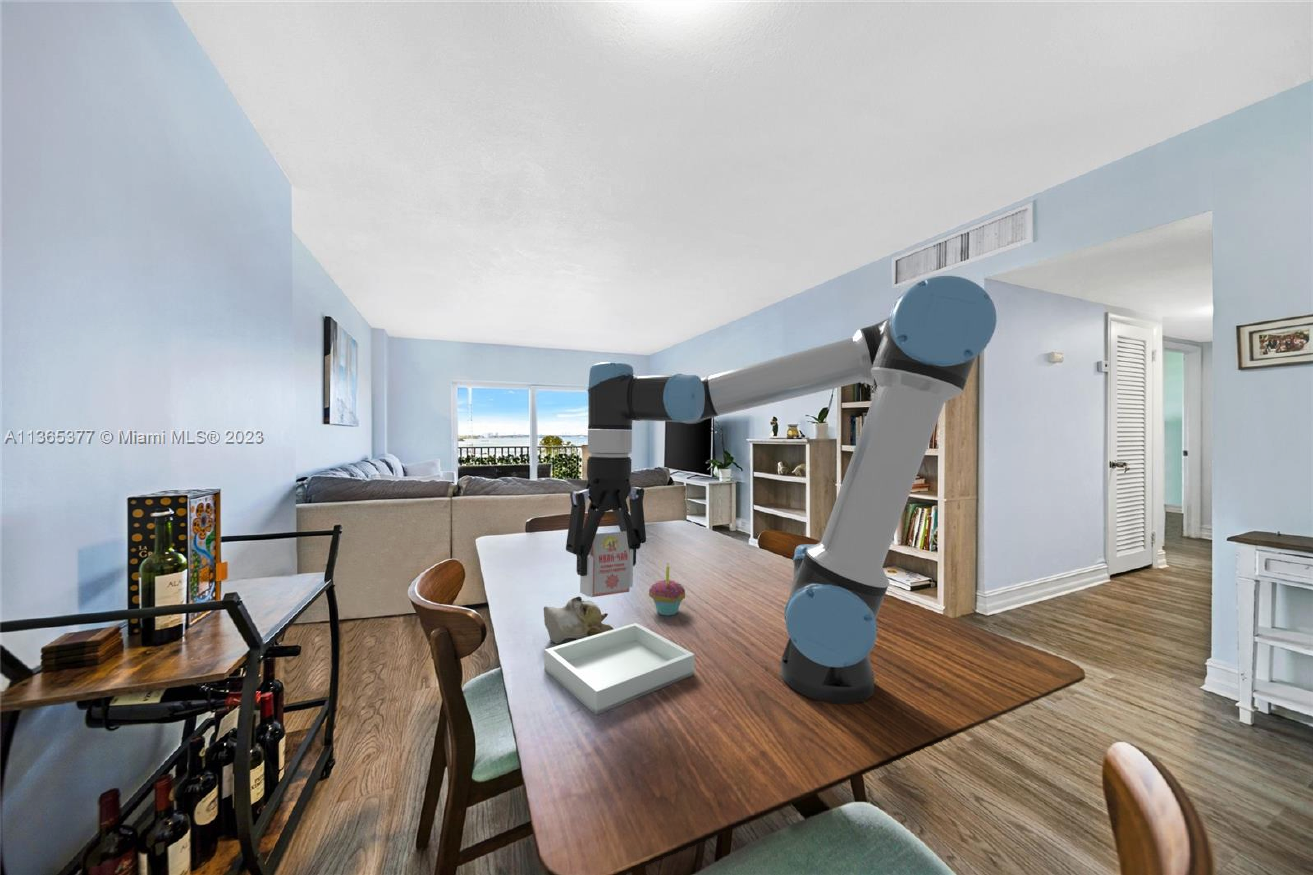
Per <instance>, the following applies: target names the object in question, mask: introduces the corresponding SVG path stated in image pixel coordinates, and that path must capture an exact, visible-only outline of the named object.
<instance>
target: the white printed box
mask: <svg viewBox="0 0 1313 875" xmlns="http://www.w3.org/2000/svg"><path fill="white" fill-rule="evenodd" d="M589 555H591V556H593V596H591V597H590V598H595V597H602V596H609V595H617V594H624V593H629V592H630V587H629V586H630V554H629V547H628V540H627V531H610V532H607V531H606V532H598V533H597V532H596V535H595V538H594V541H593V544H592V547H591V550H590V553H589Z"/></svg>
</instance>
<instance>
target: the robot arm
mask: <svg viewBox="0 0 1313 875" xmlns="http://www.w3.org/2000/svg"><path fill="white" fill-rule="evenodd" d="M996 326H997V310H996V307H995V304H994V302H993V300H992V299H991V297H990V295H989V294H988V292H987V291H986V290H985V289H984V288H983V287H981V285H979V284H977V283H976V282H974V281H972V280H970V279H968V278H964V277H960V276H958V275H957V276H955V275H937V276H933V277H928V278H926V279H924V280H921V281H919V282H917V283H916V284H914V285H912V286H911V287H910V288H908V289H907V290H905V291H904V292H903V293H902V294H901V296H899V297H898V298H897V300H896V301H895V303H893V306H892V309H891V312H890V314H889V316H888V318H886V319H883V320H882V321H880V322H878V323H876V324H872V325H870V326H867V327H866V326H865V327H863V328H860V329H858V330H856V332H855V333H854V335H853V336H852V337H850V338H849V337H848V338H845V339H842V340H839V341H838V340H837V341H835V342H832V343H827V344H824V345H820V346H816V347H814V348H807V349H806V350H805V349H804V350H802V351H797V352H794V353H791V354H790V353H789V354H787V355H783V356H780V357H776V358H772V359H768V360H765V361H760V362H758V363H754V364H749V365H745V366H743V367H738V368H735V369H732V370H727V371H723V372H720V373H716V374H713V375H709V376H706V377H700V376H698V375H696V374H684V373H683V374H682V373H676V374H658V375H655V374H654V375H652V374H651V375H636V374H635V372H634V368H633V366H632V364H631V365H630V364H629V363H625V362H624V363H623V362H608V361H607V362H598V363H594V364H593V365H592V366H591V367H590V369H589V378H588V387H587V394H588V395H587V396H588V399H587V400H588V405H587V406H588V414H587V415H588V417H587V418H588V420H587V421H588V426H587V452H588V454H590V456H589V455H588V457H587V459H586V477H587V478H586V479H587V484H586V486H585V489H583V490H579V491H575V490H573V491H571V492H570V494H569V497H570V503H571V508H570V515H569V516H570V517H569V522H568V523H569V524H568V529H567V530H568V531H567V536H566V545H565V551H567V552H569V553H571V554H572V555H575V556H576V574H577V575H578V576H579V578H580V579H579V581H580V582H579V593H580V594H582V595H584V596H586V597H588V598H592V597H591V596H593V556H591V555H589V553H590V550H591V547H592V544H593V541H594V538H595V535H596V533H597V532H598V529H599V526H600V523H601V521H602V518H603V517H605V514H606V512H610V511H612V512H613V513H614V515H615V518H616V521H617V524H618V527H619V530H620V531H627V540H628V547H629V554H630V586H629V588H633V587H634V586H633V585H634V583H633V582H634V573H633V572H634V567H635V566H636V565H637V550H640V549H641V546H642V545H641V544H645V543H646V541H647V535H646V525H645V524H646V523H645V522H646V521H645V512H644V503H643V502H644V495H645V489H644V488H643V487H639V486H638V487H637V486H632V485H631V483H630V478H632V463H633V462H632V458H631V457H630V456H629V455H630V454H631V453H632V452H633V421H638V422H640V421H647V422H650V421H651V422H670V423H671V422H673V423H683V424H687V425H694V424H698V423H701V422H704V421H705V420H708V419H711V418H716V417H718V416H719V417H720V416H723V415H726V414H731V413H736V412H740V411H746V410H749V409H752V408H757V407H760V406H761V407H762V406H765V405H770V404H774V403H778V402H782V401H785V400H790V399H795V398H800V397H804V396H808V395H812V394H817V393H821V392H824V391H829V390H834V389H838V388H842V387H845V386H850V385H855V384H858V383H864V384H867V385H869V386H871V387H873V386H876V387H875V391H874V395H873V397H872V400H871V402H870V405H869V408H868V410H867V414H866V416H865V419H864V423H863V425H862V428H861V429H860V433H859V435H858V439H857V441H856V444H855V447H854V449H853V452H852V455H851V458H850V460H849V464H848V466H847V468H846V472H845V474H844V477H843V479H842V482H841V486H840V488H839V490H838V493H837V495H836V496H837V497H836V499H835V502H834V505H833V507H832V511H831V513H830V515H829V519H828V521H827V524H826V528H825V530H824V532H823V535H822V539H821V541H820V542H818V543H816V544H811V543H810V544H809V543H808V544H800V545H797V546H796V547H795V550H794V556H793V558H792V562H793V580H792V584H791V588H790V593H789V597H788V600H787V602H786V604H785V607H784V608H785V609H784V621H785V627H786V628H785V629H786V632H787V633H788V634H787V635H788V637H789V638H788V640H787V643H786V646H785V648H784V651H783V654H782V657H781V660H780V675H781V678H782V680H783V681H784V682H785V684H787V685H788V686H789V687H790V688H791V689H792V690H794V691H795V692H797V693H799V694H801V695H803V696H806V697H808V698H811V699H813V700H817V701H822V702H826V703H832V704H845V705H846V704H847V705H849V704H856V703H861V702H864V701H866V700H868V699H870V698H871V697H872V696H873V694H874V692H875V674H874V671H873V668H872V667H873V666H872V664H871V661H870V657H869V654H871V652H872V650H873V648H874V646H875V643H876V640H877V633H878V631H879V630H878V622H877V617H878V614H879V612H880V609H881V606H882V604H883V601H884V599H885V596H886V593H887V591H888V587H889V586H890V581H889V578H888V577H887V575H886V573H885V571H884V563H885V560H886V557H887V555H888V552H889V550H890V548H891V545H892V542H893V540H894V537H895V534H896V531H897V529H898V526H899V523H900V521H901V518H902V515H903V514H904V510H905V508H906V505H907V502H908V499H909V497H910V494H911V492H912V489H913V487H914V484H915V481H916V478H917V476H918V473H919V471H920V468H921V465H922V463H923V460H924V458H925V455H926V453H927V450H928V447H929V444H930V442H931V439H932V436H933V434H934V431H935V428H936V426H937V423H938V420H939V418H940V414H941V413H942V410H943V407H944V405H945V403H947V401H949V400H952V399H954V398H956V397H958V396H960V395H962V393H963V391H964V389H965V386H966V384H967V381H968V378H969V375H970V374H971V370H972V367H973V365H974V363H975V360H976V357H978V356H979V355H980V354H981V353H982V352H983V351H984V350H985V349H986V348H987V346H988V345H989V343H990V342H991V339H992V338H993V336H994V333H995V330H996ZM628 498H629V502H628V503H629V504H628V503H627V499H628ZM588 499H589V502H590V503H589V505H588V508H586V505H587V503H588ZM586 509H587V516H586ZM585 517H586V519H585Z"/></svg>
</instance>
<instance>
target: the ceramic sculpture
mask: <svg viewBox="0 0 1313 875" xmlns="http://www.w3.org/2000/svg"><path fill="white" fill-rule="evenodd" d="M608 615H609V613H602V611H601V609H600V607H599V606H598V604H596V602H595V603H594V602H593V601H591V600H583V599H582V597H581V596H575V597H573V598H571V600H568V601H567V604H565V606H563V607H554V606H543V617H544V620H543V621H544V626H545V629H546V630H547V633H548V636H549V638H550V640H551V641H552V642H553V643H555V644H559V645H560V644H561V643H562V642H563V641H564V640H565V639H576V640H579V639H583V638H586V637H589V636H593V635H596V634H600V633H603V632H606V631H610V630H613V629H615V628H614V627H612V626H611V625H609V624H605V623H602V622H603V621H604V620H605V619H606V618H607V617H608Z"/></svg>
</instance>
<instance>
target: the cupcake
mask: <svg viewBox="0 0 1313 875" xmlns="http://www.w3.org/2000/svg"><path fill="white" fill-rule="evenodd" d="M665 571H666V572H665V579H663V580H659V581H657V582H655V583H654V584H652V585H651V586H650V588H649V589H648V590H649V593H648V596H649V597H650V598H651V599H653V602H654V605H655V607H656V612H657V613H658V614H659V615H662V616H674V615H676V614H677V613H678V611H679V610H680V605H681V602H682V600H684V599H685V598H686V589H685V587H684V586H683V585H682V584H681V583H678V582H676V581H674V580H671V579H670V565H669V563H668V562H667V565H666V570H665Z"/></svg>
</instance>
